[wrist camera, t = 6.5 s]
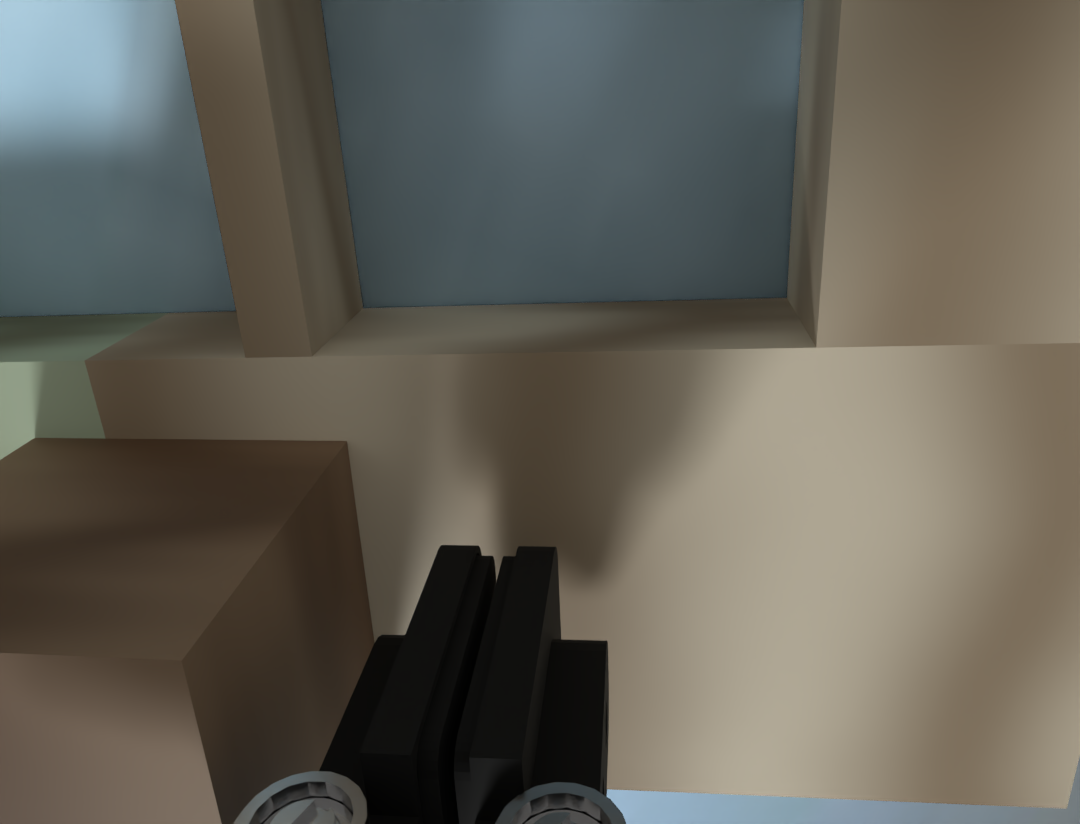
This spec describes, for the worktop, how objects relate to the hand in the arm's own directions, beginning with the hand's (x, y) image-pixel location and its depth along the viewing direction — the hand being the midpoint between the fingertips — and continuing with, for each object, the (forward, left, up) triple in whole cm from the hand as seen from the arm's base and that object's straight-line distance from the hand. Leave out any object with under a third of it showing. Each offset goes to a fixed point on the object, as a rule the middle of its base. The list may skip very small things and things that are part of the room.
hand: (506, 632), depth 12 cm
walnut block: (+5, 0, -1) cm, 5 cm away
